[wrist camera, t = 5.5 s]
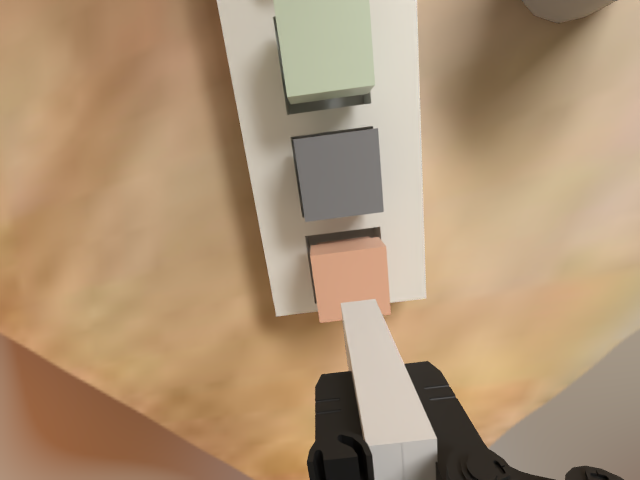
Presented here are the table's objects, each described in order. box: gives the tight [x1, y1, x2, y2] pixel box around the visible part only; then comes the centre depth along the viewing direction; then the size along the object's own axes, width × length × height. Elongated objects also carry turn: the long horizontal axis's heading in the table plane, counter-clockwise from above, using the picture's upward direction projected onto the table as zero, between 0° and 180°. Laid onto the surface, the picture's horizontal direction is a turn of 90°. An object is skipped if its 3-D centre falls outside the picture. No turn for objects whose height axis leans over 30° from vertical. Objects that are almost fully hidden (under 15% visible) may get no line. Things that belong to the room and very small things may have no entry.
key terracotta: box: [310, 236, 391, 323], centre depth 21 cm, size 5×5×4 cm
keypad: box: [217, 0, 426, 317], centre depth 21 cm, size 28×12×4 cm, turn 7°
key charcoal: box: [293, 128, 384, 222], centre depth 19 cm, size 5×5×4 cm
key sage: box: [273, 0, 375, 104], centre depth 17 cm, size 5×5×4 cm
